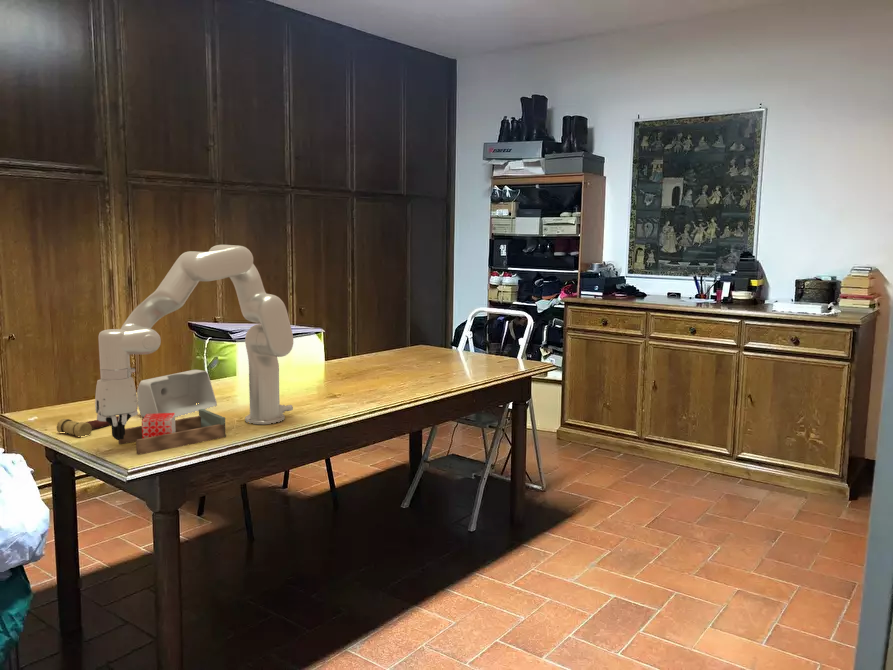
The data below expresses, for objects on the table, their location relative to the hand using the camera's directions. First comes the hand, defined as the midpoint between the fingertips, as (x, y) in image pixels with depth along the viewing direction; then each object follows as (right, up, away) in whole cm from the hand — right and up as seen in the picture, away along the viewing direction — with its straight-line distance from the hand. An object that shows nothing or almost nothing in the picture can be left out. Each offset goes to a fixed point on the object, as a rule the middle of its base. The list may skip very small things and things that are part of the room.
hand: (118, 438), depth 201 cm
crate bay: (+11, -2, +11) cm, 16 cm away
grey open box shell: (-2, +3, +46) cm, 46 cm away
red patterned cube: (+8, -3, +8) cm, 12 cm away
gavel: (-17, -1, +23) cm, 29 cm away
